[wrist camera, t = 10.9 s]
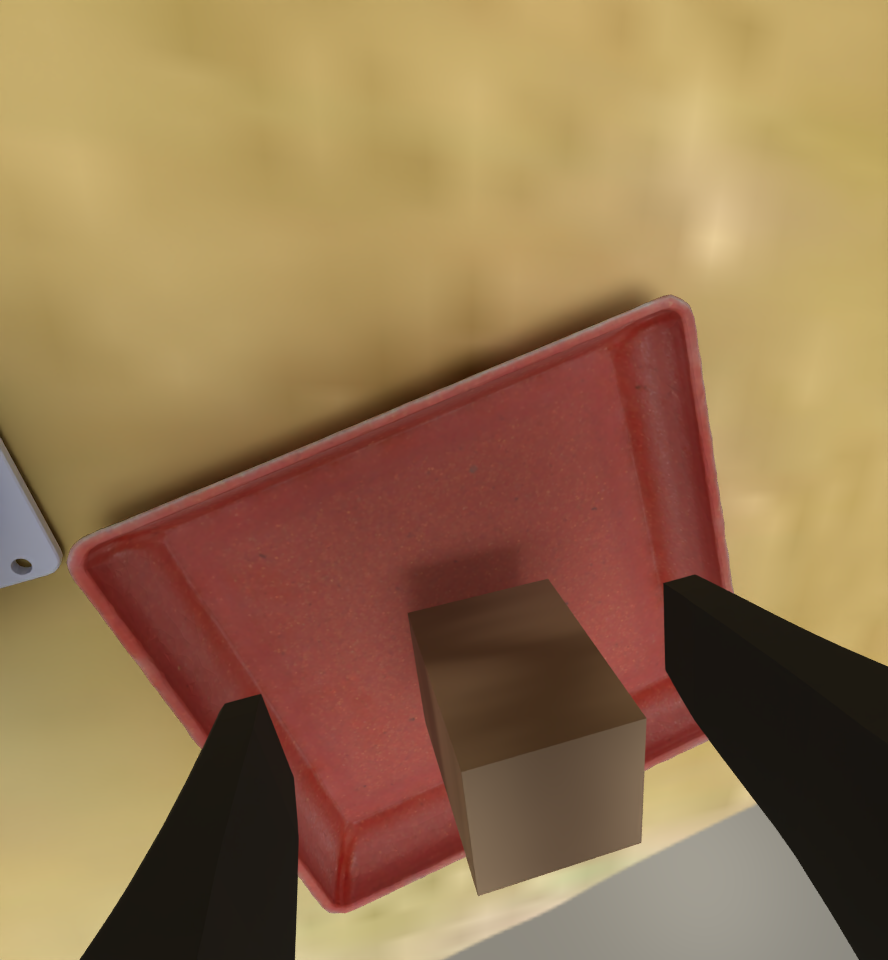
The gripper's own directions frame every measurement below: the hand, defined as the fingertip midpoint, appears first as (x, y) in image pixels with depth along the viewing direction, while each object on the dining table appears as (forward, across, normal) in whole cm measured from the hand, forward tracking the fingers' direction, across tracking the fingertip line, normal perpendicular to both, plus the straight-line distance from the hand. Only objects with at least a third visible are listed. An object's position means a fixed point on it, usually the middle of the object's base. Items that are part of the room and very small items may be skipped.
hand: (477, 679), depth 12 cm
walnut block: (+8, -1, +6) cm, 10 cm away
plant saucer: (+11, -1, +6) cm, 13 cm away
